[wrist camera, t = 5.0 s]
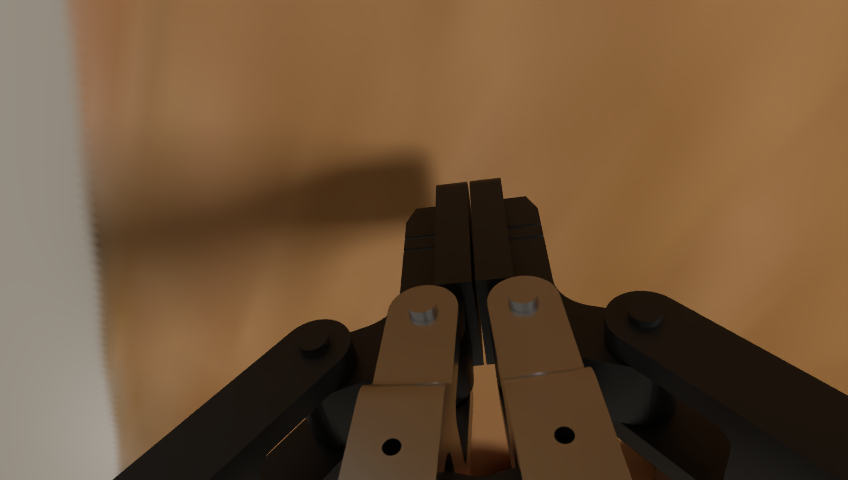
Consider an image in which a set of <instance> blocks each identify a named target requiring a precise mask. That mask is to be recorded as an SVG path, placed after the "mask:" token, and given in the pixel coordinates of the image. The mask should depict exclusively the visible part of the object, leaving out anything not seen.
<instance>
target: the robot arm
mask: <svg viewBox="0 0 848 480" xmlns="http://www.w3.org/2000/svg"><path fill="white" fill-rule="evenodd" d="M470 198H471V206H470ZM470 198H469V190H468V184H467V182H461V183H453V184H444V185H437V186H436V207H429V208H420V209H416V210H415V211H414V213H413V214H412V216H411V217H410V218H409V220H408V221H407V223H406V232H405V244H404V255H403V266H402V277H401V289H400V294H399V295H398V296H397V297H396V298H395V299H394V300H393V301H392V303H391V304H390V306H389V309H388V313H387V316H386V317H385V318H383V319H382V320H380V321H379V322H377V323H375V324H372V325H370V326H367V327H364V328H361V329H359V330H356V331H353V332H349V330H348V329H347V327H346V326H345V325H343V324H342V323H340V322H338V321H334V320H328V319H322V320H315V321H311V322H308V323H305V324H303V325H301V326H299V327H297V328H296V329H294V330H293V331H292V332H290V333H289V334H288V335H287V336H286V337H284V338H283V339H282V340H281V341H280V342H278V343H277V344H276V345H275V346H274V347H272V348H271V349H270V350H269V351H268V352H266V353H265V354H264V355H263V356H261V357H260V358H259V359H258V360H257V361H255V362H254V363H253V364H252V365H251V366H249V367H248V368H247V369H246V370H245V371H243V372H242V373H241V374H240V375H239V376H237V377H236V378H235V379H234V380H233V381H231V382H230V383H229V384H228V385H226V386H225V387H224V388H223V389H222V390H220V391H219V392H218V393H217V394H216V395H214V396H213V397H212V398H211V399H210V400H208V401H207V402H206V403H205V404H204V405H202V406H201V407H200V408H199V409H197V410H196V411H195V412H194V413H193V414H191V415H190V416H189V417H188V418H187V419H185V420H184V421H183V422H182V423H181V424H179V425H178V426H177V427H176V428H175V429H173V430H172V431H171V432H170V433H169V434H167V435H166V436H165V437H164V438H162V439H161V440H160V441H159V442H158V443H156V444H155V445H154V446H153V447H152V448H150V449H149V450H148V451H147V452H146V453H144V454H143V455H142V456H141V457H140V458H138V459H137V460H136V461H135V462H134V463H132V464H131V465H130V466H129V467H127V468H126V469H125V470H124V471H123V472H121V473H120V474H119V475H118V476H117V477H115V478H114V479H113V480H632V478H631V475H630V472H629V469H628V466H627V463H626V460H625V458H624V455H623V452H622V449H621V446H620V443H619V441H618V438H619V439H621V440H622V441H623V442H624V443H626V444H627V445H628V446H629V447H631V448H632V449H633V450H635V451H636V452H637V453H638V454H640V455H641V456H642V457H643V458H645V459H646V460H647V461H649V462H650V463H651V464H652V465H654V466H655V467H656V468H657V469H659V470H660V471H661V472H663V473H664V474H665V475H666V476H668V477H669V478H670V479H671V480H848V395H846V394H844V393H842V392H840V391H838V390H837V389H835V388H833V387H831V386H829V385H828V384H826V383H824V382H822V381H820V380H818V379H817V378H815V377H813V376H811V375H809V374H808V373H806V372H804V371H802V370H800V369H798V368H797V367H795V366H793V365H791V364H789V363H787V362H786V361H784V360H782V359H780V358H778V357H777V356H775V355H773V354H771V353H769V352H767V351H766V350H764V349H762V348H760V347H758V346H756V345H755V344H753V343H751V342H749V341H747V340H746V339H744V338H742V337H740V336H738V335H736V334H735V333H733V332H731V331H729V330H727V329H725V328H724V327H722V326H720V325H718V324H716V323H715V322H713V321H711V320H709V319H707V318H705V317H704V316H702V315H700V314H698V313H696V312H695V311H693V310H691V309H689V308H687V307H685V306H684V305H682V304H680V303H678V302H676V301H674V300H673V299H671V298H669V297H667V296H665V295H662V294H659V293H655V292H649V291H633V292H628V293H624V294H622V295H619V296H617V297H616V298H614V299H613V300H612V301H611V302H610V303H609V304H608V305H607V307H606V308H603V307H596V306H589V305H584V304H581V303H577V302H575V301H573V300H570V299H569V298H567V297H565V296H564V295H563V294H562V293H560V292H559V290H558V289H557V288H556V286H555V285H554V282H553V278H552V274H551V269H550V264H549V259H548V255H547V250H546V245H545V241H544V237H543V231H542V226H541V222H540V217H539V212H538V208H537V207H536V206H535V205H534V204H533V203H532V202H531V201H530V200H529V199H528V198H527V197H526V196H525V197H516V198H507V199H503V192H502V185H501V178H494V179H486V180H477V181H470ZM481 325H482V330H481ZM482 333H483V340H484V347H485V354H486V362H487V364H495V369H496V377H497V385H498V393H499V400H500V405H501V411H502V416H503V422H504V427H505V433H506V438H507V444H508V449H509V455H510V461H511V466H512V469H509V470H505V471H502V472H499V473H496V474H493V475H489V476H485V477H477V476H471V475H470V460H471V439H472V418H473V391H472V388H473V385H474V374H473V366H477V365H484V362H483V346H482ZM304 418H306V419H305V420H304V421H303V422H302V423H301V424H300V425H299V426H298V427H297V428H295V427H296V426H297V425H298V424H299V423H300V422H301V421H302V420H303V419H304ZM294 428H295V429H294ZM293 429H294V430H293ZM292 430H293V431H292ZM291 431H292V432H291ZM290 432H291V433H290ZM289 433H290V434H289ZM288 434H289V435H288ZM287 435H288V436H287ZM285 436H287V437H286V438H285V439H284V440H283V441H282V442H281V443H280V444H279V445H278V446H276V445H277V444H278V443H279V442H280V441H281V440H282V439H283V438H284V437H285ZM617 437H618V438H617ZM275 446H276V447H275ZM274 447H275V448H274ZM273 448H274V449H273ZM272 449H273V450H272ZM271 450H272V451H271ZM270 451H271V452H270ZM269 452H270V453H269ZM268 453H269V454H268ZM267 454H268V455H267ZM266 455H267V456H266Z"/></svg>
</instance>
